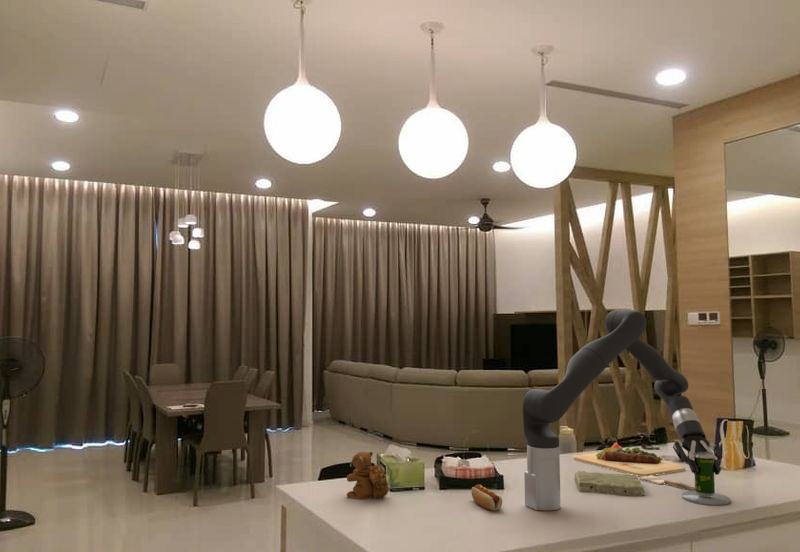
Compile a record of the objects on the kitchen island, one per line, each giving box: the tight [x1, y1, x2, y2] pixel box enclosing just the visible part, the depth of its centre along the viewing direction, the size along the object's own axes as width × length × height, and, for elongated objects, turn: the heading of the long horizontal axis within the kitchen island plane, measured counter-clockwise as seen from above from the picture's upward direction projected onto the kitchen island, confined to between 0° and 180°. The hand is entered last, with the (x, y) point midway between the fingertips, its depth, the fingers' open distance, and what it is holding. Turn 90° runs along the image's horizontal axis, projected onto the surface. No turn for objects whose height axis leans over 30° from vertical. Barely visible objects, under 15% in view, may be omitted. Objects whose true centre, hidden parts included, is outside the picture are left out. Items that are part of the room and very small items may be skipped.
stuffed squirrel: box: [346, 451, 391, 500], centre depth 193 cm, size 10×14×13 cm
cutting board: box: [572, 442, 686, 477], centre depth 238 cm, size 35×23×8 cm
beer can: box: [693, 452, 716, 496], centre depth 190 cm, size 5×5×12 cm
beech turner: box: [639, 476, 695, 491], centre depth 206 cm, size 22×6×1 cm, turn 30°
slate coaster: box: [681, 490, 731, 506], centre depth 190 cm, size 13×13×1 cm
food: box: [471, 484, 503, 512], centre depth 183 cm, size 14×6×5 cm, turn 18°
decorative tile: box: [574, 470, 645, 496], centre depth 204 cm, size 19×20×4 cm
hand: (707, 473), depth 189 cm, fingers open, 5 cm apart
